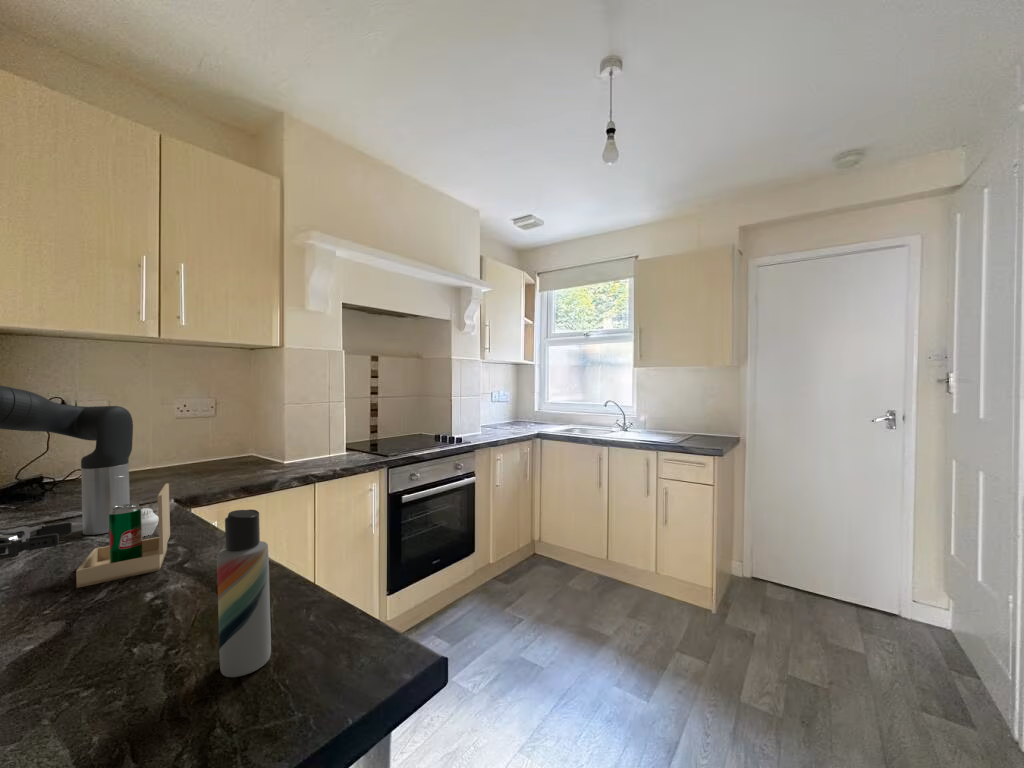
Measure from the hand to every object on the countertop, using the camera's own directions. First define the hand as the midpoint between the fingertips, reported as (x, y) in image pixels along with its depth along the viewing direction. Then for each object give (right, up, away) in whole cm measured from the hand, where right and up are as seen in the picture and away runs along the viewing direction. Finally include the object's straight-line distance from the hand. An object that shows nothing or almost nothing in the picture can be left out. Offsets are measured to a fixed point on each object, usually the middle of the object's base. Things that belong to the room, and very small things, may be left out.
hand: (65, 533), depth 83 cm
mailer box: (+8, -9, +5) cm, 13 cm away
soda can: (+7, -8, +5) cm, 12 cm away
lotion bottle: (+53, -8, -28) cm, 61 cm away
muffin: (-6, -10, +25) cm, 27 cm away
